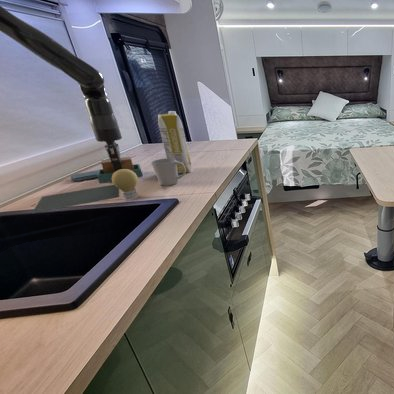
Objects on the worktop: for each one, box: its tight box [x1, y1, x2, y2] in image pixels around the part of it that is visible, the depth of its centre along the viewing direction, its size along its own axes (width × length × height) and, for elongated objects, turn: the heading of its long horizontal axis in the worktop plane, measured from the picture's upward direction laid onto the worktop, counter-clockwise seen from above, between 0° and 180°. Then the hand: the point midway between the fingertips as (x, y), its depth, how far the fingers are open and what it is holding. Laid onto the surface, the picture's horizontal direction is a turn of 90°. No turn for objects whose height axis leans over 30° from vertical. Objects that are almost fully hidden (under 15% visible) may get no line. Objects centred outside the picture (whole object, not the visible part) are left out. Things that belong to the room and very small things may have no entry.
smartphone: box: [70, 169, 99, 183], centre depth 115 cm, size 8×2×15 cm
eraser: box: [100, 156, 134, 174], centre depth 111 cm, size 9×5×5 cm, turn 127°
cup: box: [151, 157, 187, 187], centre depth 105 cm, size 8×10×8 cm
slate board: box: [31, 184, 120, 214], centre depth 93 cm, size 20×16×1 cm
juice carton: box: [157, 110, 192, 175], centre depth 116 cm, size 9×8×24 cm
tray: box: [96, 163, 143, 184], centre depth 112 cm, size 13×9×4 cm
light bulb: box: [111, 169, 139, 201], centre depth 90 cm, size 6×6×10 cm
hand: (119, 171), depth 112 cm, fingers closed on eraser, 5 cm apart
